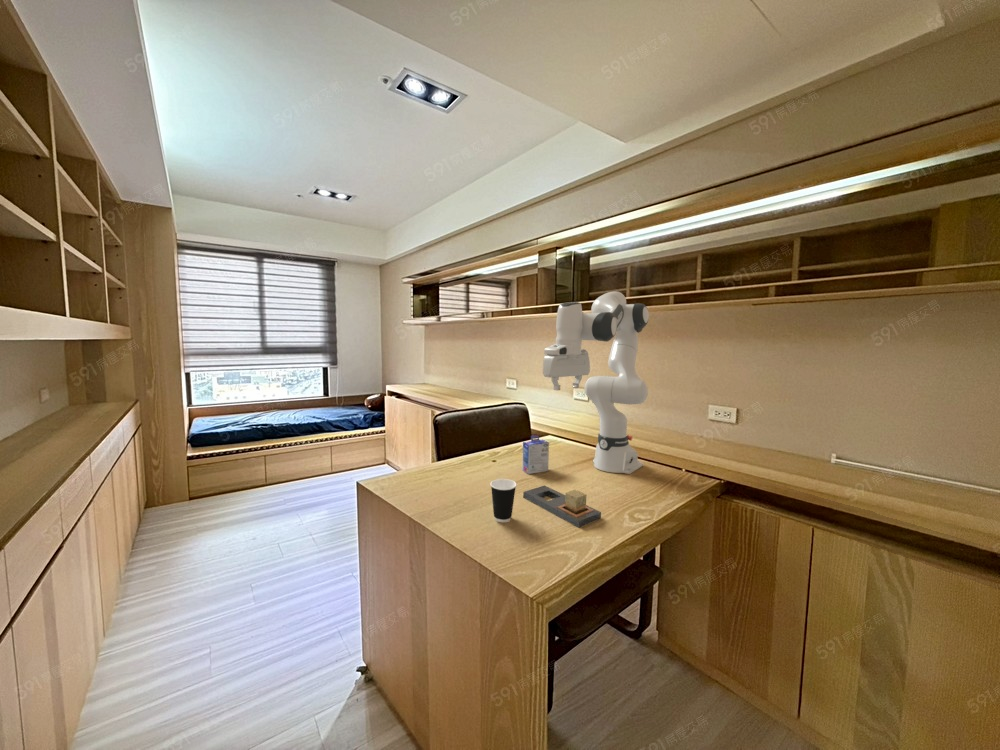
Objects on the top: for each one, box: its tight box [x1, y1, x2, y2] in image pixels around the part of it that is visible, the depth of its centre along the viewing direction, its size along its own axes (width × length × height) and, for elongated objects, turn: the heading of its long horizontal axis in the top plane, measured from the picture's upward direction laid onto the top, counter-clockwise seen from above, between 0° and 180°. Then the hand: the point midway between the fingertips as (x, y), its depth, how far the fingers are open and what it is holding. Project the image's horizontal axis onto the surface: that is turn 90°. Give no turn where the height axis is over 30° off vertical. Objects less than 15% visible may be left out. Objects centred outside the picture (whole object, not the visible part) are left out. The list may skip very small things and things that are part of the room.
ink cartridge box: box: [522, 434, 550, 475], centre depth 155 cm, size 10×6×14 cm, turn 116°
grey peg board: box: [522, 485, 602, 529], centre depth 123 cm, size 10×25×2 cm, turn 37°
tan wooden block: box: [565, 489, 587, 515], centre depth 118 cm, size 4×4×7 cm
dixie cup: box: [489, 478, 517, 523], centre depth 114 cm, size 8×8×11 cm
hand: (566, 389), depth 132 cm, fingers open, 8 cm apart
